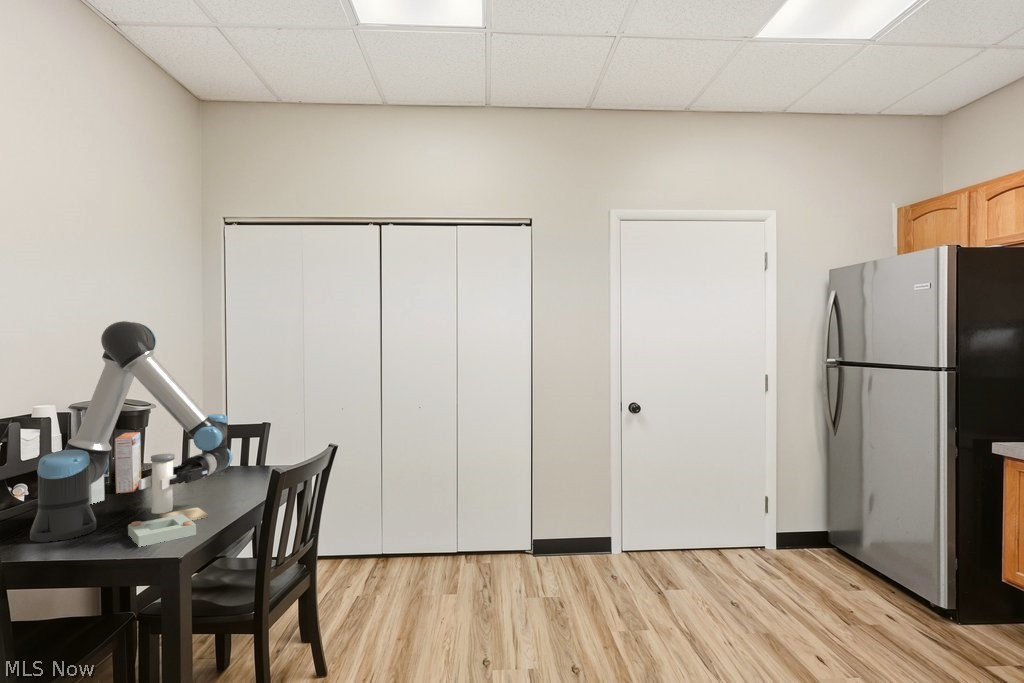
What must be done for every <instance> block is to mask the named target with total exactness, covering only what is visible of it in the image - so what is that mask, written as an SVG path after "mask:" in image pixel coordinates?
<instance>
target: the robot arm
mask: <svg viewBox="0 0 1024 683" xmlns="http://www.w3.org/2000/svg"><path fill="white" fill-rule="evenodd" d="M100 340H101V342H100V343H101V346H102V348H103V350H104V351H103V354H102V357H101V359H102V360H103V362H104V364H105V365H104V367H103V369H102V372H101V374H100V377H99V379H98V381H97V384H96V387H95V388H94V391H93V394H92V396H91V399H90V401H89V404H88V407H87V409H86V412H85V414H84V416H83V419H82V421H81V424H80V426H79V429H78V430H77V434H76V436H74V437H73V438H70V439H68V441H67V443H66V445H65V448H64V450H59V451H55V452H51V453H48V454H45V455H43V456H42V457H41V458H40V459H39V461H38V466H37V470H36V473H37V513H36V516H35V518H34V520H33V523H32V525H31V528H30V531H29V540H30V541H31V542H35V543H50V542H49V541H53V542H59V541H58V540H61V541H65V540H71V539H75V538H74V537H76V538H79V537H82V536H81V535H83V536H86V535H88V534H90V532H91V533H92V531H93V530H94V531H96V529H97V519H96V516H95V514H94V512H93V510H92V507H91V505H90V504H89V485H90V484H92V483H94V482H96V481H97V480H99V479H100V478H101V477H102V475H104V476H105V473H106V471H107V470H108V468H109V467H108V466H109V456H110V454H111V451H112V448H113V447H112V446H111V444H110V439H111V437H112V434H113V431H114V429H115V427H116V424H117V421H118V419H119V416H120V414H121V412H122V409H123V405H124V404H125V401H126V399H127V396H128V393H129V391H130V388H131V386H132V384H133V381H134V377H135V378H136V379H137V381H138V382H139V383H140V384H141V385H142V386H143V387H144V388H145V389H146V390H147V391H148V392H149V393H150V394H151V395H152V397H153V398H154V399H155V400H156V401H157V402H158V403H159V404H160V405H161V406H162V407H163V409H165V411H167V412H168V413H169V414H170V416H171V417H172V418H173V419H174V420H175V421H176V422H177V423H178V424H179V425H180V426H181V428H182V429H183V430H185V432H186V433H187V434H188V435H189V437H190V438H191V439H192V440H193V443H194V446H195V448H197V449H199V450H200V451H201V453H199V454H195V455H193V456H190V457H188V458H186V459H184V460H183V461H182V462H181V464H180V465H179V464H178V465H177V466H173V475H172V476H169V477H166V478H164V479H161V480H160V490H163V489H165V488H168V487H170V486H173V487H174V486H175V485H177V484H183V483H185V484H189V483H191V482H196V481H199V480H200V479H203V480H204V479H205V477H208V476H209V475H212V474H214V473H217V472H221V471H223V470H224V469H226V468H228V467H229V466H230V465H231V464H232V462H233V457H234V456H233V454H232V451H231V450H230V449H229V448H228V425H229V424H228V416H227V415H226V414H223V413H221V414H220V413H216V414H215V413H214V414H213V413H212V414H211V413H210V414H207V413H206V412H205V411H204V410H203V409H202V408H201V407H200V405H199V404H198V403H197V402H196V401H195V400H194V399H193V398H192V396H191V395H190V394H189V393H188V392H187V391H186V390H185V389H184V388H183V387H182V386H181V385H180V383H179V382H178V381H177V380H176V379H175V378H174V376H172V374H170V372H169V371H168V370H167V369H166V368H165V367H164V366H163V365H162V363H161V362H160V361H159V360H158V359H157V357H155V356H154V353H155V352H154V351H155V350H154V349H155V348H156V344H157V339H156V336H155V333H154V332H153V331H152V329H150V327H148V326H147V325H145V324H142V323H139V322H135V321H134V322H132V321H127V320H125V321H124V320H123V321H116V322H113V323H112V324H110V325H108V326H107V327H106V328H105V329H104V330H103V332H102V334H101V338H100ZM149 487H152V471H151V472H149V473H146V477H144V478H141V479H140V480H139V486H138V490H144V489H148V488H149ZM94 531H93V532H94ZM87 533H88V534H87ZM85 534H86V535H85ZM78 536H79V537H78Z"/></svg>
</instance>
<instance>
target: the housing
mask: <svg viewBox="0 0 1024 683" xmlns="http://www.w3.org/2000/svg"><path fill="white" fill-rule="evenodd" d="M127 532H128V533H127V535H128V537H129V536H130V537H131V538H132V539H131V538H130V537H129V538H130V539H131V541H132V542H133V543H134V544H135V543H136V544H137V545H138V546H137V545H136V544H135V545H136V546H137V547H138V548H142V547H141V546H143V547H146V545H147V546H150V545H151V546H152V545H156V544H159V543H160V542H161V543H165V542H169V541H170V542H171V541H174V540H178V539H183V538H187V537H192V536H196V535H197V523H195V522H194V520H193V521H191V520H190V519H188V518H187V517H186V516H184V515H183V514H181V515H176V516H170V517H165V518H156V519H150V520H146V521H141V520H138V521H133V522H131V523H130V524H128V525H127ZM164 541H165V542H164Z"/></svg>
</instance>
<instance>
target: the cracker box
mask: <svg viewBox="0 0 1024 683" xmlns="http://www.w3.org/2000/svg"><path fill="white" fill-rule="evenodd" d="M141 454H142V453H141V432H140V431H136V432H124V433H122V434H121V435H119V436H117V437H116V438H115V439H114V455H115V456H114V458H115V460H114V461H115V462H114V463H115V464H114V465H115V470H114V471H115V494H118V493H120V494H127V493H134V492H135V491H136V489H137V488H139V480H140V479H142V468H141V467H142V462H141V461H142V460H141V458H142V457H141V456H142V455H141Z"/></svg>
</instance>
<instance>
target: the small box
mask: <svg viewBox="0 0 1024 683" xmlns="http://www.w3.org/2000/svg"><path fill="white" fill-rule="evenodd" d="M100 501H101V502H103V501H105V474H104V475H102V477H101V478H100V479H99V480H97V481H96V482H94V483H92V484H90V485H89V504H92V505H94V504H93V503H95V504H97V502H98V503H100Z"/></svg>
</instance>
